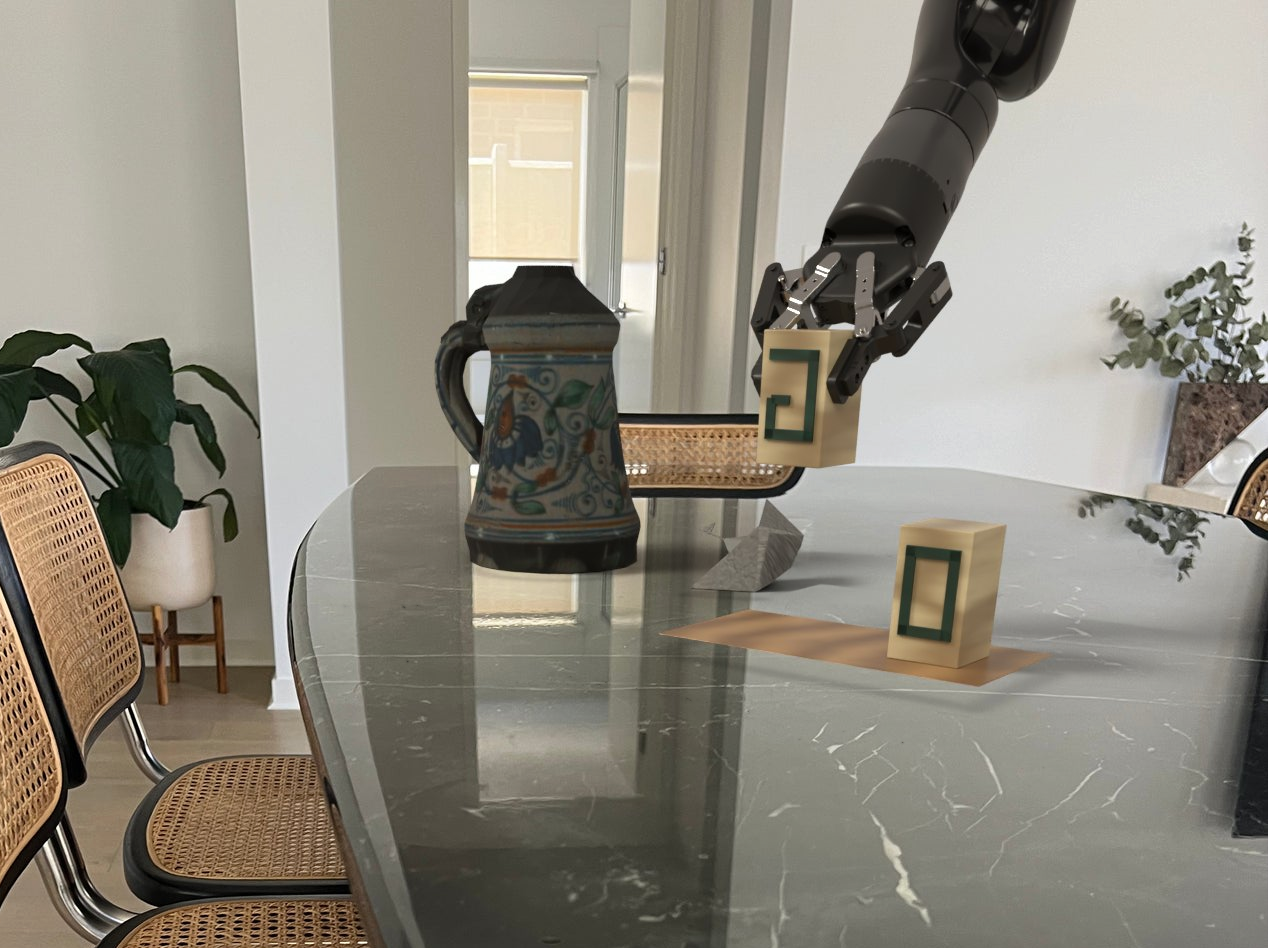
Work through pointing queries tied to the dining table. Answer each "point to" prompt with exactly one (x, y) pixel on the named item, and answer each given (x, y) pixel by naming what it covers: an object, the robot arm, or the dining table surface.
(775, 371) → the letter G
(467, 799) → the dining table surface
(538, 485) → the beer stein
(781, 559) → the paper boat
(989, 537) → the letter O
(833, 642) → the word mat
